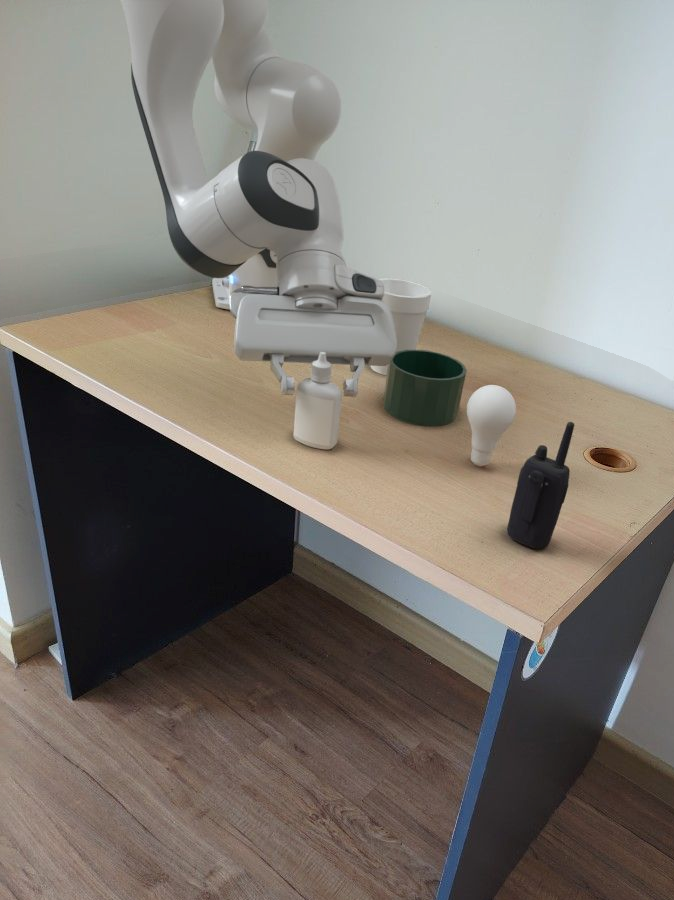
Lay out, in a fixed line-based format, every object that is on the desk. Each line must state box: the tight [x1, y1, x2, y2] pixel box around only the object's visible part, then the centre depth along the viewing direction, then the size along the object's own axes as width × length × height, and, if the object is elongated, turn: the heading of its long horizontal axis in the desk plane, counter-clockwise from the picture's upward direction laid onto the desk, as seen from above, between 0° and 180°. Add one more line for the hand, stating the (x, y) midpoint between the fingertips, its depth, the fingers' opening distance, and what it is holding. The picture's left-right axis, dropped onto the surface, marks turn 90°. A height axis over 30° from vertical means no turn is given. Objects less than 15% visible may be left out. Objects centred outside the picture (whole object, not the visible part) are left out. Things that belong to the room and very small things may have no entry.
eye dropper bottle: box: [292, 352, 343, 450], centre depth 95 cm, size 4×6×12 cm
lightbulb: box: [466, 384, 517, 468], centre depth 96 cm, size 6×6×11 cm
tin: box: [382, 349, 468, 427], centre depth 109 cm, size 11×11×7 cm
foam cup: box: [370, 277, 432, 376], centre depth 119 cm, size 10×9×13 cm
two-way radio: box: [506, 421, 575, 550], centre depth 81 cm, size 6×4×15 cm
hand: (319, 394), depth 94 cm, fingers open, 6 cm apart
